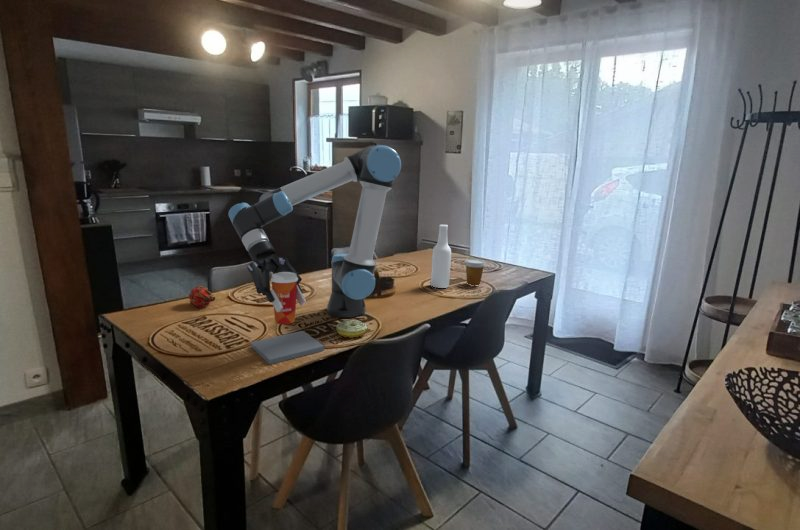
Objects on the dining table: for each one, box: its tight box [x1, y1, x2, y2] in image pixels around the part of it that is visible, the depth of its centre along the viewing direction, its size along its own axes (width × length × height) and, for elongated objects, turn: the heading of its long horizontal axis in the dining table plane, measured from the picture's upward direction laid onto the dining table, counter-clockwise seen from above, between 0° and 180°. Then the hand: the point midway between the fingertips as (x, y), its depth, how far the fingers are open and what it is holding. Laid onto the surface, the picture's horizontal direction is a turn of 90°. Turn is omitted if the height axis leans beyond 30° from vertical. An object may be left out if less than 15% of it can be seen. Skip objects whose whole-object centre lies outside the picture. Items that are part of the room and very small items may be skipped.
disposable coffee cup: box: [464, 258, 486, 285], centre depth 223 cm, size 10×10×12 cm
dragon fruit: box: [188, 285, 216, 309], centre depth 178 cm, size 8×8×12 cm
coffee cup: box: [269, 272, 298, 325], centre depth 140 cm, size 8×8×15 cm
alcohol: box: [430, 224, 452, 289], centre depth 215 cm, size 9×9×30 cm
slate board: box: [250, 330, 325, 365], centre depth 144 cm, size 18×15×2 cm
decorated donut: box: [335, 319, 368, 339], centre depth 158 cm, size 10×11×4 cm
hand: (292, 306), depth 139 cm, fingers closed on coffee cup, 8 cm apart
